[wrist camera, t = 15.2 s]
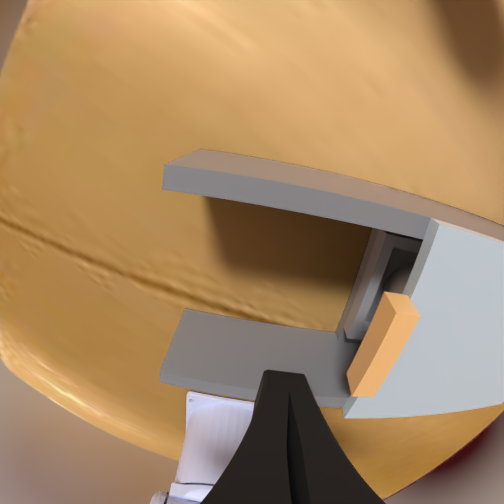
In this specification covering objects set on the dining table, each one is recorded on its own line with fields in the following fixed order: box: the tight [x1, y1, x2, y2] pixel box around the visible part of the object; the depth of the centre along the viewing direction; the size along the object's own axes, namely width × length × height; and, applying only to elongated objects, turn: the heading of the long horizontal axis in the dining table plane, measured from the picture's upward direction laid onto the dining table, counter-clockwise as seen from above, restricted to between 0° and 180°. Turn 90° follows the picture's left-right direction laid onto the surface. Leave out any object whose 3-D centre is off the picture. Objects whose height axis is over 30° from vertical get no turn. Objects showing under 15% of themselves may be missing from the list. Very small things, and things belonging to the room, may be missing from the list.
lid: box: [343, 218, 504, 418], centre depth 13 cm, size 12×16×2 cm
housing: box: [160, 149, 504, 408], centre depth 16 cm, size 12×26×6 cm, turn 80°
